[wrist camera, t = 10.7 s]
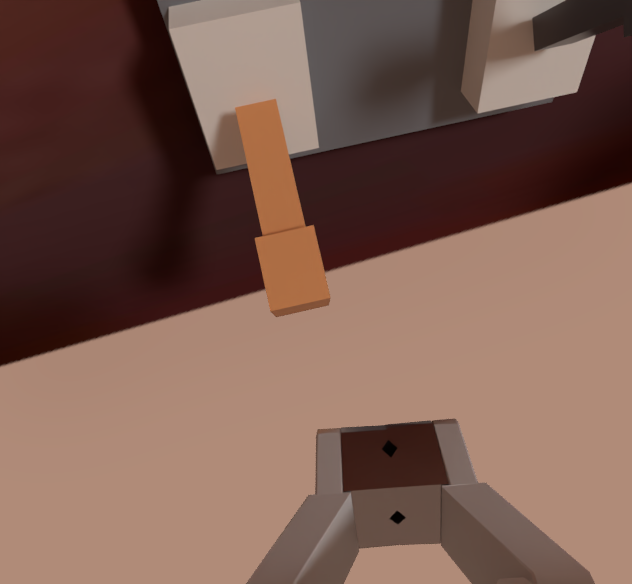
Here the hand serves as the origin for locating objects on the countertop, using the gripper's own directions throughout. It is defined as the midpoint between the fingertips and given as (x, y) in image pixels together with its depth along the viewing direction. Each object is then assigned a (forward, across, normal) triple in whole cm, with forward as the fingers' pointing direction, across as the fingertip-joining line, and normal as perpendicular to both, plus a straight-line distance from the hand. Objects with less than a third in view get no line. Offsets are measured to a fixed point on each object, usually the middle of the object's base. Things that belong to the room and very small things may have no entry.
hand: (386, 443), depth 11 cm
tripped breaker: (+23, -5, +4) cm, 24 cm away
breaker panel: (+30, +3, +7) cm, 31 cm away
